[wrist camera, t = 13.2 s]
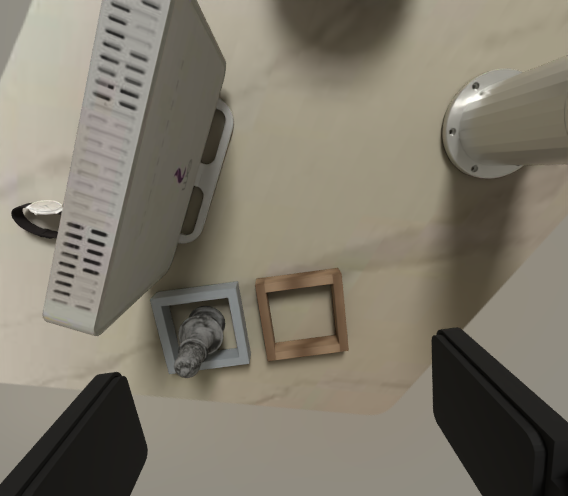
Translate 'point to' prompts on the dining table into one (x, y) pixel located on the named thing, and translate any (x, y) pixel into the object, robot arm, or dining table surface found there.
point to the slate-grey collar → (197, 294)
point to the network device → (136, 158)
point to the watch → (36, 208)
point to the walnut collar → (312, 344)
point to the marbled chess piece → (198, 339)
